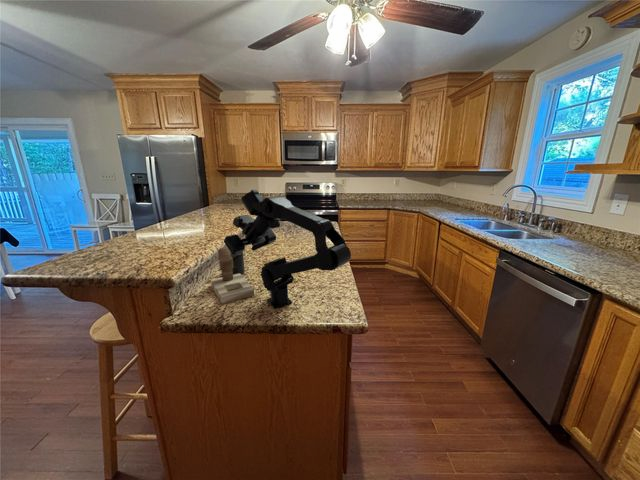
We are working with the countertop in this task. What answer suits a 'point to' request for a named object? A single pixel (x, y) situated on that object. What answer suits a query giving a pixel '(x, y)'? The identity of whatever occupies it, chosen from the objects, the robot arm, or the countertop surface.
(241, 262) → the supplement bottle
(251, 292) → the board
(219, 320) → the countertop surface
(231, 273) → the walnut peg
